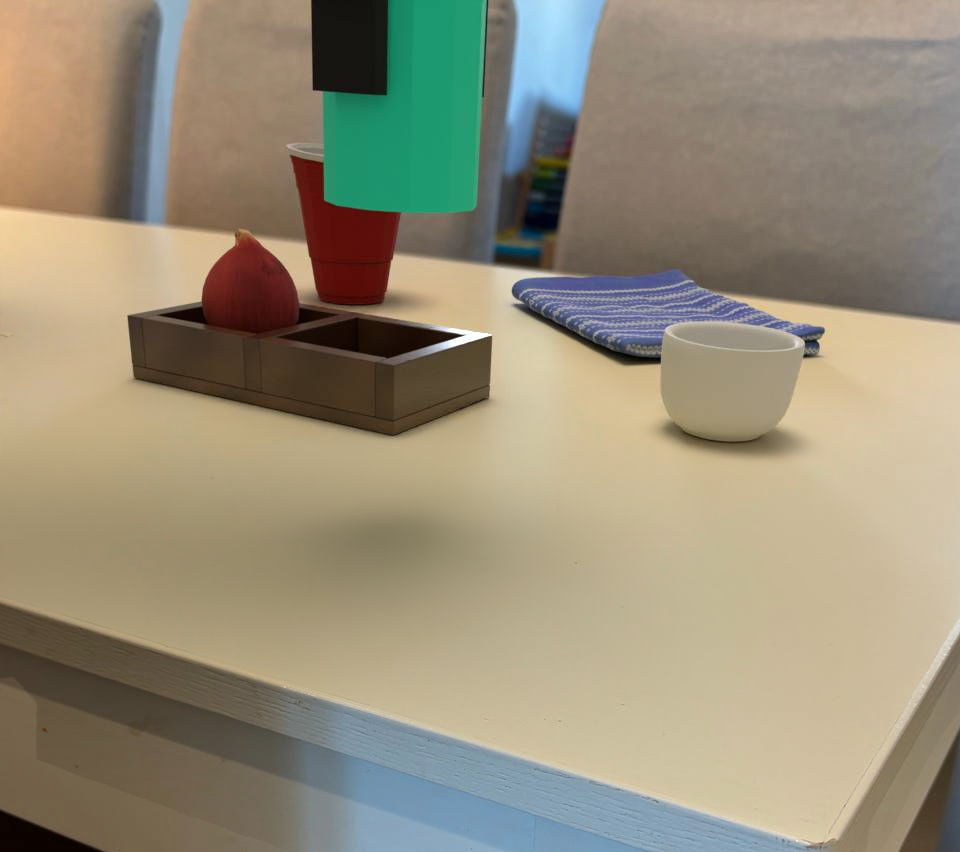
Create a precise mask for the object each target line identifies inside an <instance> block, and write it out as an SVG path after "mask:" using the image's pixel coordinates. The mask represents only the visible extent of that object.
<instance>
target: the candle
mask: <svg viewBox="0 0 960 852" xmlns="http://www.w3.org/2000/svg"><path fill="white" fill-rule="evenodd" d="M486 3H487V0H388V51H387V95H367V94H353V93H340V92H326V91H322V119H323V120H322V126H323V127H322V132H323V133H322V134H323V137H322V139H323V140H322V141H323V143H322V144H324V200H325V201H327V202H329V203H332V204H334V205H337V206H344V207H351V208H358V209H364V210H375V211H390V212H401V213H408V214H452V213H460V212H461V213H462V212H470V211H471V212H472V211H474V210H475V208H477V207H478V193H479V191H478V190H479V189H478V188H479V171H480V148H481V147H480V145H481V130H482V129H481V128H482V127H481V125H482V106H483V97H482V87H483V66H484V45H485V24H486Z"/></svg>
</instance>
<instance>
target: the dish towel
mask: <svg viewBox="0 0 960 852" xmlns="http://www.w3.org/2000/svg"><path fill="white" fill-rule="evenodd" d="M511 294H512V297H513V298H514V299H516V300H517V301H519V302H521V303H523V304H525V305H526V306H527V307H528V308H529V309H531V310H532V311H534V312H536V313H538V314H540V315H541V316H542V317H544V318H546V319H550V320H552V321H553V322H555V324H558V325H561V326H563V327H565V328H567V329H568V330H570V331H572V332H574V333H576V334H578V335H580V336H581V337H583V338H585V339H587V340H588V341H592V342H593V343H595V344H597V345H600V346H603V347H604V348H607V349H609V350H611V351H614V352H617V353H618V352H619V353H624V354H626V355H630V356H634V357H641V358H661V352H662V341H663V336H664V332H665V329H666V328H667V327H668V326H670V325H674V324H678V323H685V322H730V323H740V324H749V325H756V326H762V327H767V328H772V329H777V330H781V331H784V332H788V333H791V334H793V335H796V336H798V337H800V338H801V339H803V340H804V342H805V350H804V355H803V356H806V355H807V356H809V355H810V356H814V355H819V354H820V350H821V347H820V346H821V345H820V343H819V340H821V339H822V338H823V335H824V334H825V332H826V328H825V327H824V326H817V325H812V324H809V323H805V322H797V323H796V322H791V321H789V320H787V319H783V318H779V317H775V316H774V315H772V314H771V313H769V312H766V311H763V310H760V309H757V308H755V307H754V306H752V305H749V303H746V302H740V301H738V300H736V299H733V298H730V297H725V296H724V295H723V294H721V293H717V292H712V291H710V290H709V289H708V288H704V287H701V286H699V285H698V284H697V283H696V282H695V280H692V279H691V278H690V277H688V276H686V275H685V274H684V273H683V272H682V271H681V270H680V269H671V270H666V271H665V272H660V273H656V274H655V273H654V274H646V275H638V276H614V275H592V276H591V275H590V276H584V277H578V276H543V277H541V276H540V277H538V276H537V277H527V278H522V279H519V280H517V281H516V282H514V284H513V285H512V287H511Z"/></svg>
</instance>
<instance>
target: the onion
mask: <svg viewBox="0 0 960 852" xmlns="http://www.w3.org/2000/svg"><path fill="white" fill-rule="evenodd" d="M234 238H235V240H234V241H235V243H234V245H233V246H232V247H231V248H229V249H228V250H227V251H226V252H225V253H224V254H222V255H221V256H220V257H219V259H217V260H216V261H215V263H214V264H213V265H212V267H211V268H210V269H209V271H208V273H207V276H206V277H205V280H204V283H203V286H202V290H201V291H202V292H201V301H202V307H203V313H204V317H205V319H206V321H207V322H208V324H209V325H211V326H216V327H222V328H227V329H232V330H238V331H243V332H249V333H254V334H260V333H264V332H269V331H273V330H277V329H281V328H286V327H290V326H294V325H296V323H297V321H298V316H299V303H300V300H299V299H300V298H299V294H298V290H297V287H296V285H295V282H294V280H293V277H292V275H291V274H290V272H289V271H288V269H287V268H286V267H285V265H284V264H283V262H282V261H280V259H278V257H276V255H275V254H273V253H272V252H271V251H269V250H268V249H267V248H266V247H264V245H262V244H261V242H260V241H258V240H257V239H256V237H254V236H253V235H252V234H251V232H250V230H247V229H243V228H238V229H237V230H235V233H234Z"/></svg>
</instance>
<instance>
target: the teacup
mask: <svg viewBox="0 0 960 852" xmlns="http://www.w3.org/2000/svg"><path fill="white" fill-rule="evenodd" d="M804 350H805V342H804V340H803V339H801V338H800V337H798V336H796V335H793V334H791V333H788V332H784V331H781V330H777V329H772V328H767V327H762V326H756V325H749V324H740V323H730V322H685V323H678V324H674V325H670V326H668V327H667V328H666V329H665V332H664V336H663V341H662V352H661V357H660V379H659V380H660V381H659V383H660V384H659V385H660V395H661V400H662V404H663V406H664V409H665V411H666V412H667V414H668V416H669V417H670V419H671V420H672V422H674V424H676V425H677V426H678V427H679V428H680V429H681V430H682V431H683V432H685V433H687V434H689V435H691V436H694V437H697V438H701V439H704V440H709V441H710V440H711V441H718V442H737V443H738V442H747V441H752V440H755V439H757V438H760V437H761V436H762V435H765V434H768V432H770V431H772V430H773V429H775V427H776V426H777V425H778V424H779V423H780V422H781V421H782V419H784V417H785V415H786V414H787V411H788V409H789V407H790V405H791V403H792V399H793V397H794V392H795V389H796V386H797V383H798V382H797V381H798V378H799V373H800V370H801V367H802V363H803V359H804V356H805V355H804Z"/></svg>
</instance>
